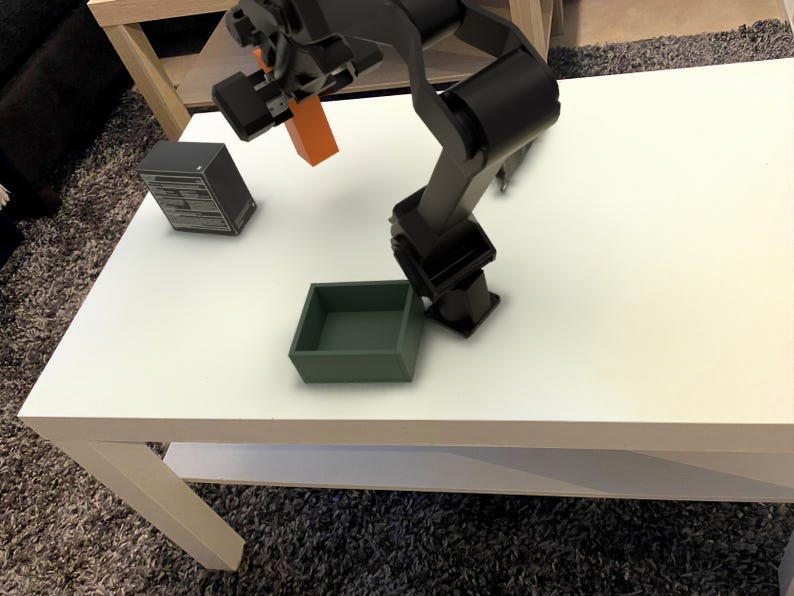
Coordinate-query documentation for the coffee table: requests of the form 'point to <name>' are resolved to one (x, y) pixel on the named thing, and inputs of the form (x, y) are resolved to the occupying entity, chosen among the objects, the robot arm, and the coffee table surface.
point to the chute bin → (358, 332)
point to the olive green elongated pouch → (511, 165)
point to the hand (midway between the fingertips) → (294, 103)
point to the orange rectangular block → (307, 126)
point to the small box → (197, 186)
